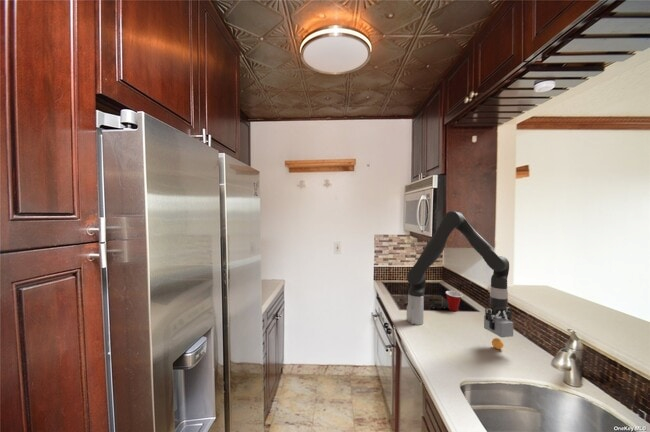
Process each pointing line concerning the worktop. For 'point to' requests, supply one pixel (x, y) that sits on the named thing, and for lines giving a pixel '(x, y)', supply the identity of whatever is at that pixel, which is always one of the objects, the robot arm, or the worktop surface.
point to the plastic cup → (453, 300)
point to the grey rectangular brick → (500, 327)
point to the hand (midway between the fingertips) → (498, 328)
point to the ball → (497, 343)
